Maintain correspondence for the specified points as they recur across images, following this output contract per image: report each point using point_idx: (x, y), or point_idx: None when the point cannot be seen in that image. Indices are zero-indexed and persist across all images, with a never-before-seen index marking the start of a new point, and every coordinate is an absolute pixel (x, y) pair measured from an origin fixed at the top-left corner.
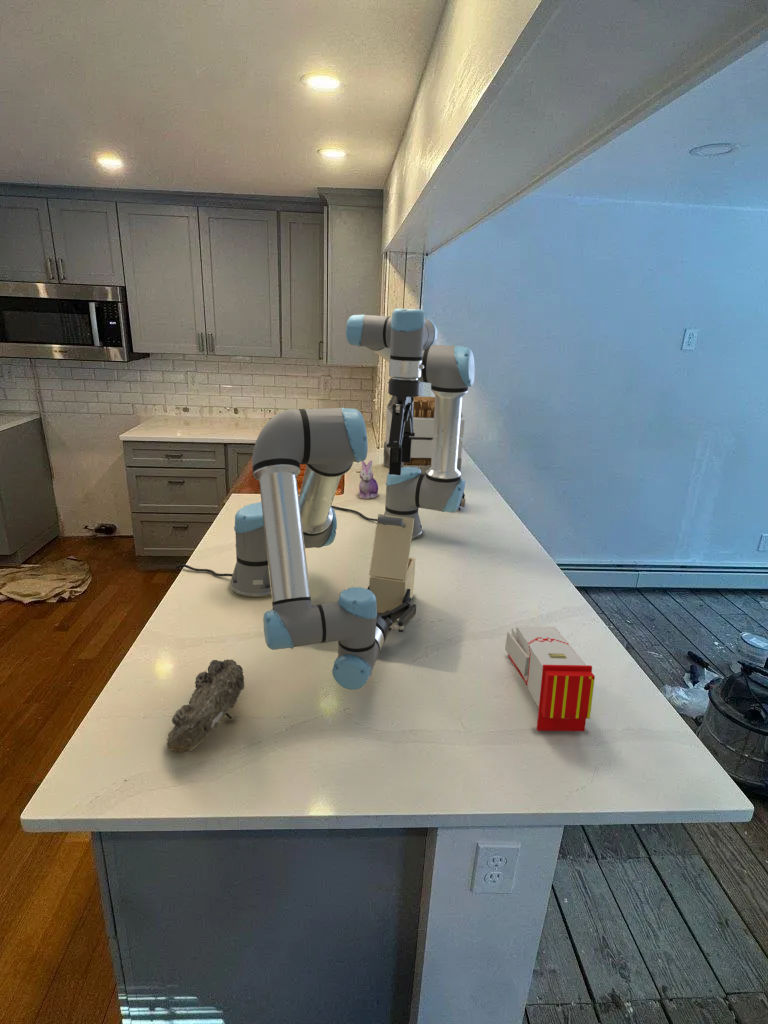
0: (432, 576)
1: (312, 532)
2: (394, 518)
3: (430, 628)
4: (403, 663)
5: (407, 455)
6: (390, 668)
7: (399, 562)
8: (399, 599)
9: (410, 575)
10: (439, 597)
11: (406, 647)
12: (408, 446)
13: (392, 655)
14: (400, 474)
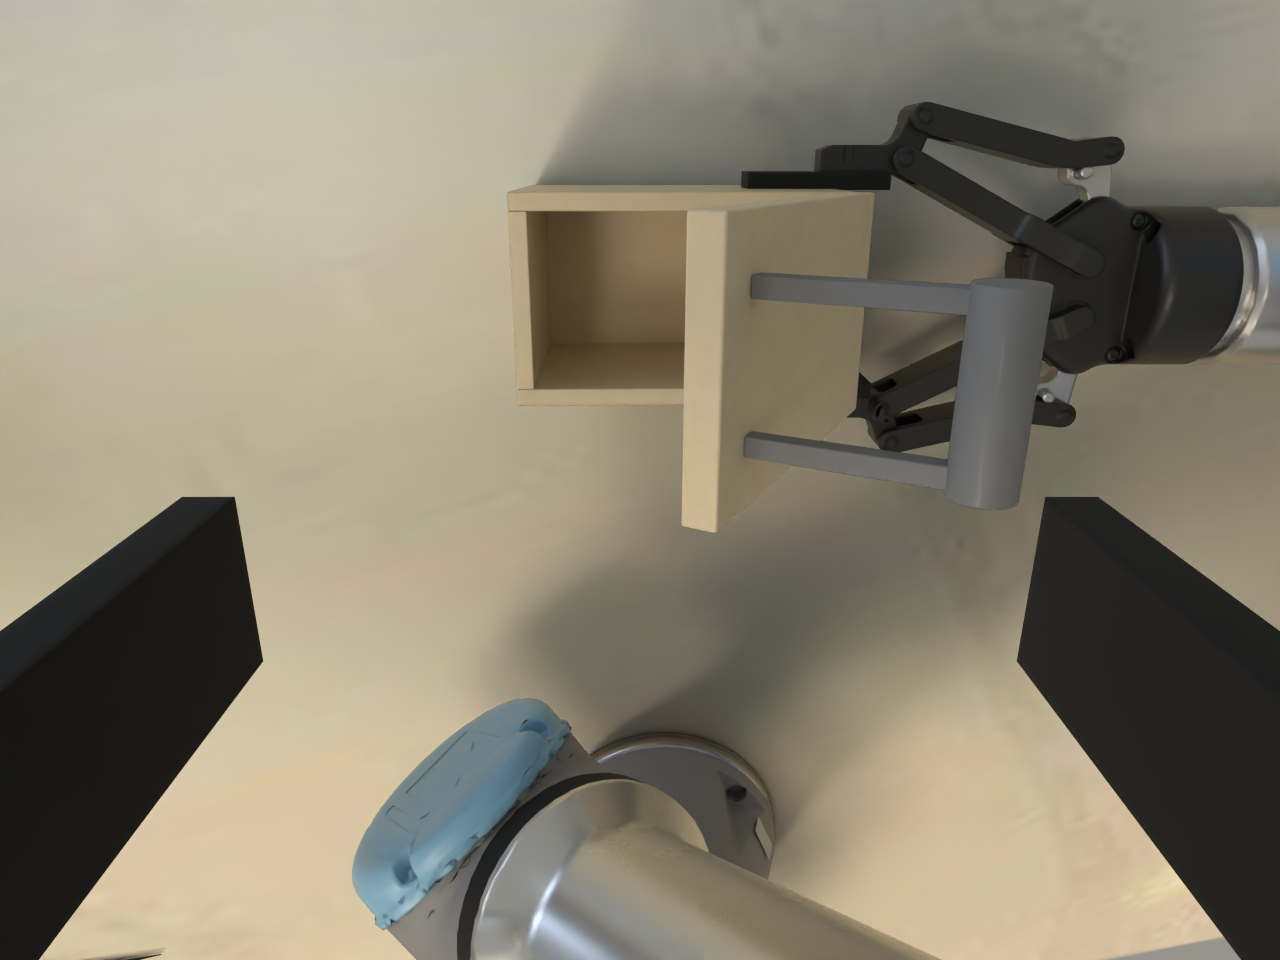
0: (270, 115)
1: (697, 829)
2: (1028, 361)
3: (834, 35)
4: (1143, 112)
5: (176, 601)
6: (1184, 161)
7: (844, 252)
8: None
9: (676, 190)
10: (503, 35)
11: (1018, 124)
12: (61, 704)
13: None
14: (1079, 500)
